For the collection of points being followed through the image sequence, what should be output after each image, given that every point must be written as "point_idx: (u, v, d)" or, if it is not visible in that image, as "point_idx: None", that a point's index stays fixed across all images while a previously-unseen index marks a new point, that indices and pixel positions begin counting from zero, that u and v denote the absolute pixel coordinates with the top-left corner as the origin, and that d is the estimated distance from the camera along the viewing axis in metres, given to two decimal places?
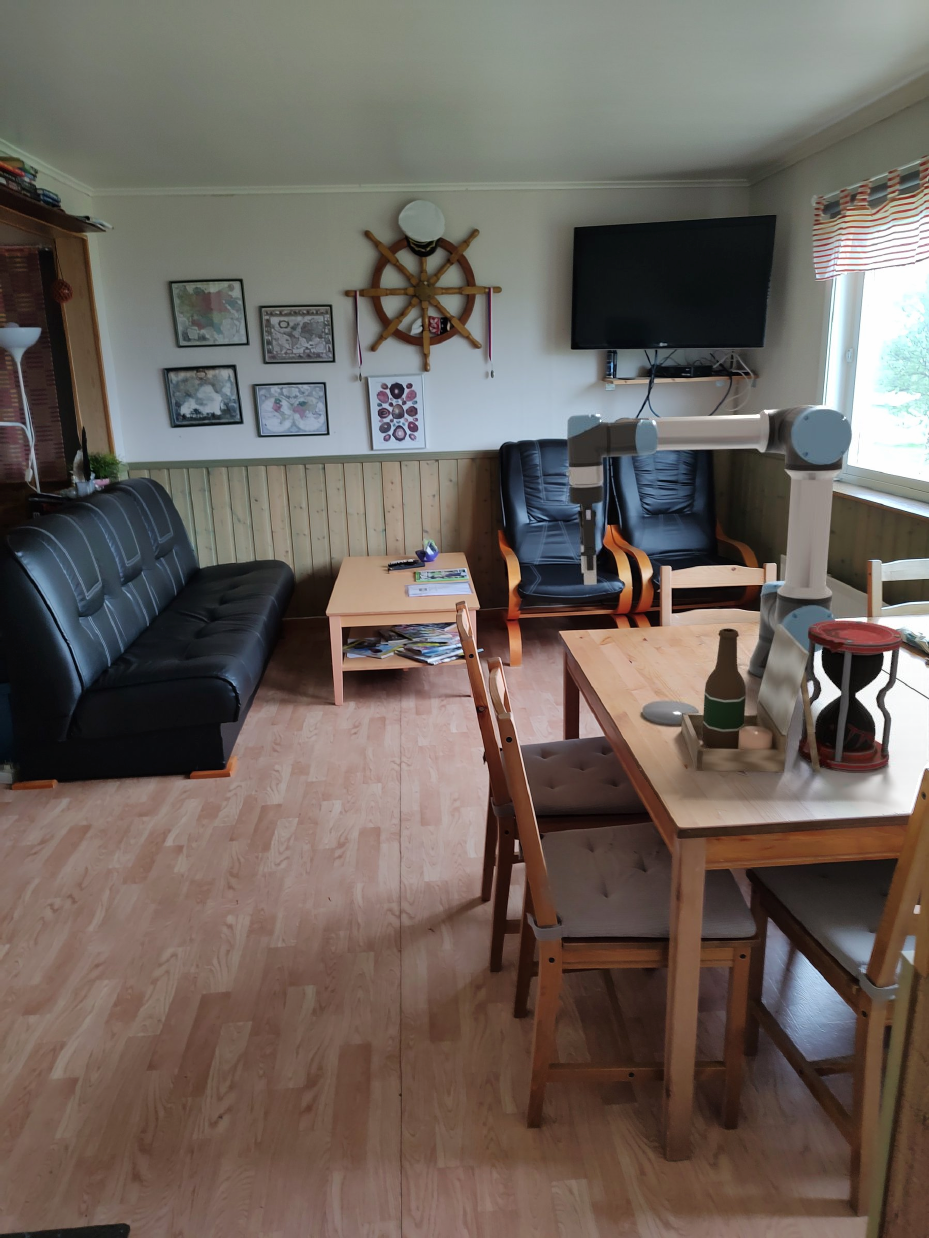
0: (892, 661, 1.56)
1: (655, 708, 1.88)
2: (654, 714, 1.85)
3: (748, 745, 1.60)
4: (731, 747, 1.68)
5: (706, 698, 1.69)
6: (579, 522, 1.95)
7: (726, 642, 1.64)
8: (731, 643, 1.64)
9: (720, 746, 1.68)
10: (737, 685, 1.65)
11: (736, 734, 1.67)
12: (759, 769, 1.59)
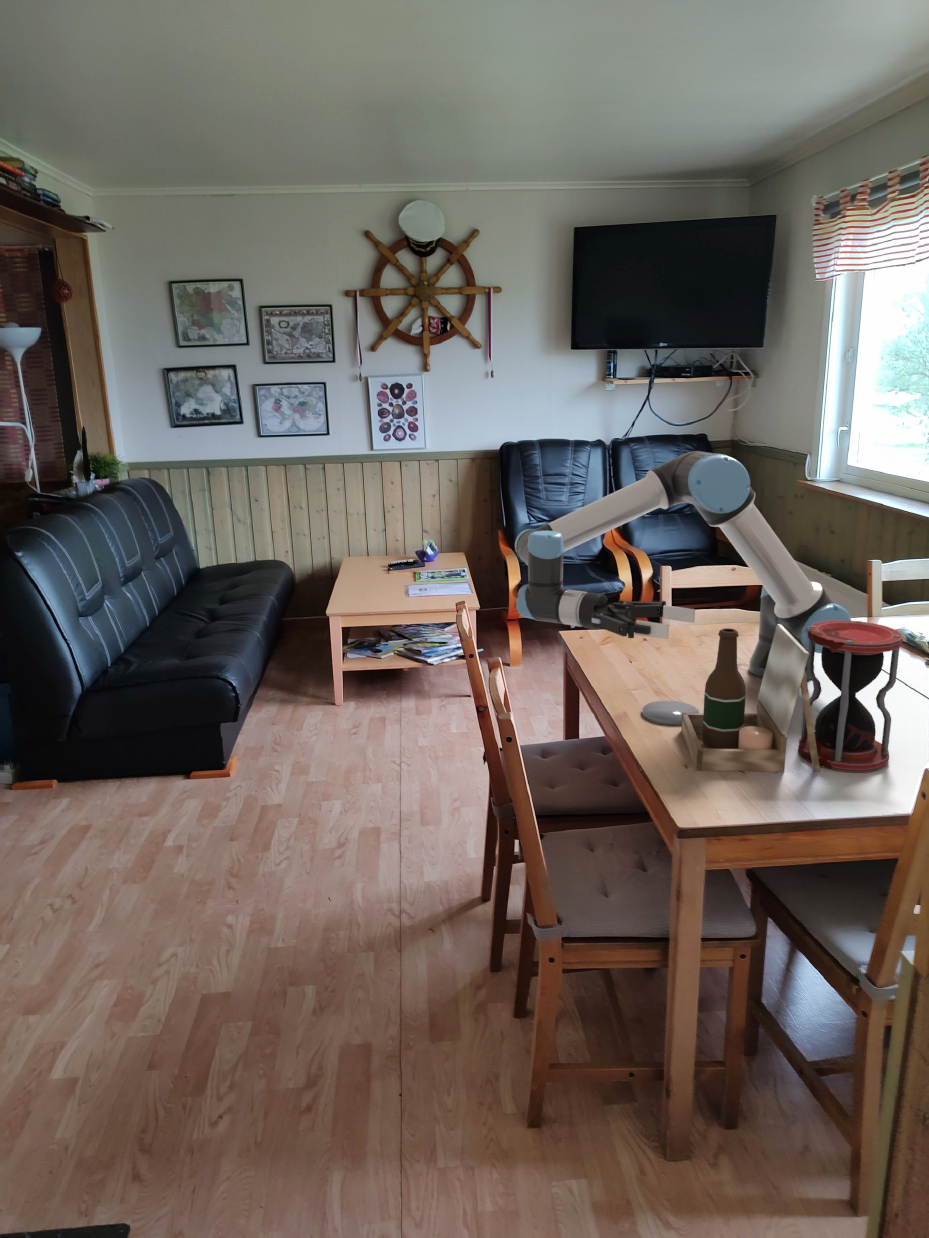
0: (892, 661, 1.56)
1: (655, 708, 1.88)
2: (654, 714, 1.85)
3: (748, 745, 1.60)
4: (731, 747, 1.68)
5: (706, 698, 1.69)
6: None
7: (726, 642, 1.64)
8: (731, 643, 1.64)
9: (720, 746, 1.68)
10: (737, 685, 1.65)
11: (736, 734, 1.67)
12: (759, 769, 1.59)
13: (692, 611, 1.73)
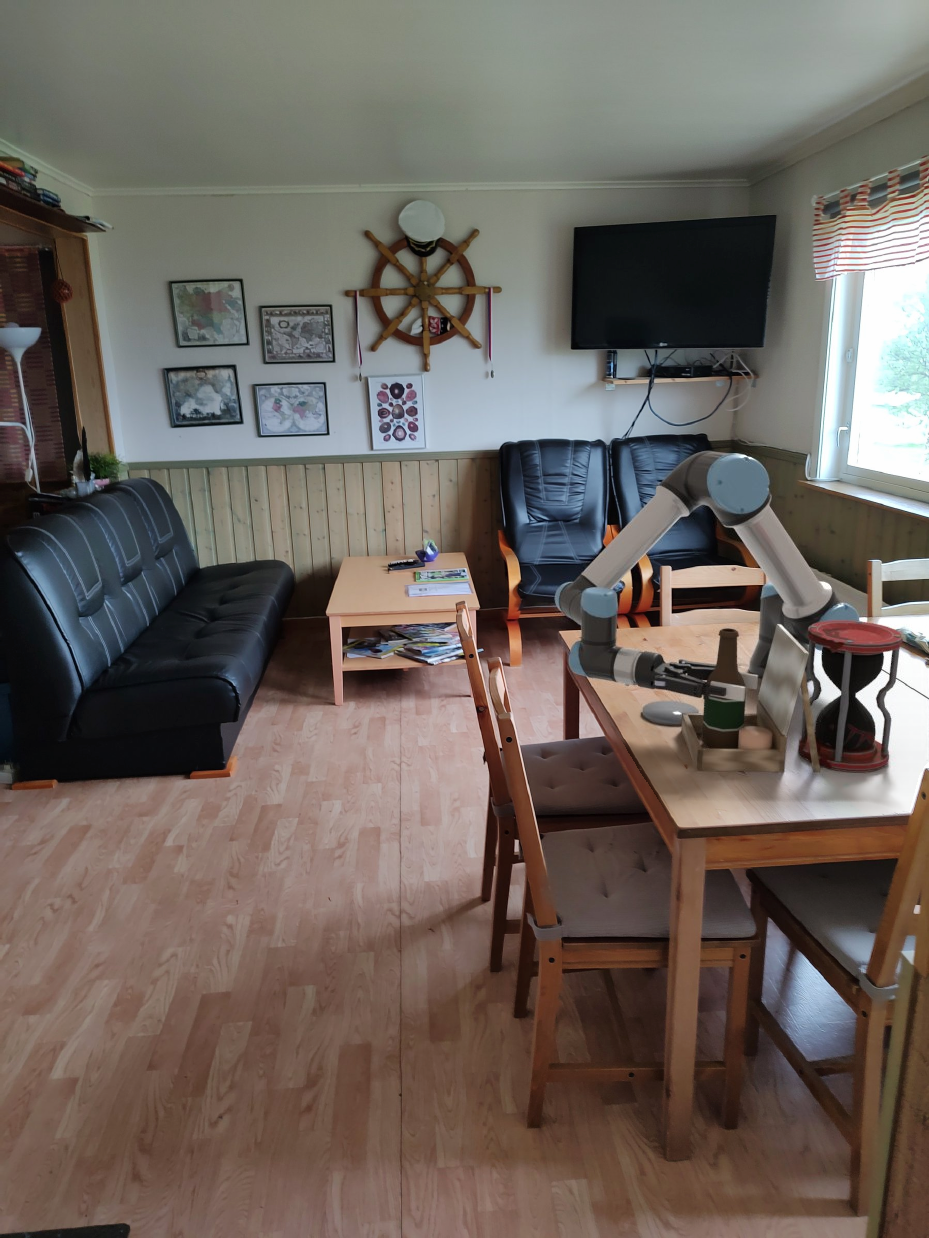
0: (892, 661, 1.56)
1: (655, 708, 1.88)
2: (654, 714, 1.85)
3: (748, 745, 1.60)
4: (731, 747, 1.68)
5: None
6: None
7: (726, 642, 1.64)
8: (731, 643, 1.64)
9: (720, 746, 1.68)
10: (737, 685, 1.65)
11: (736, 734, 1.67)
12: (759, 769, 1.59)
13: (755, 677, 1.68)
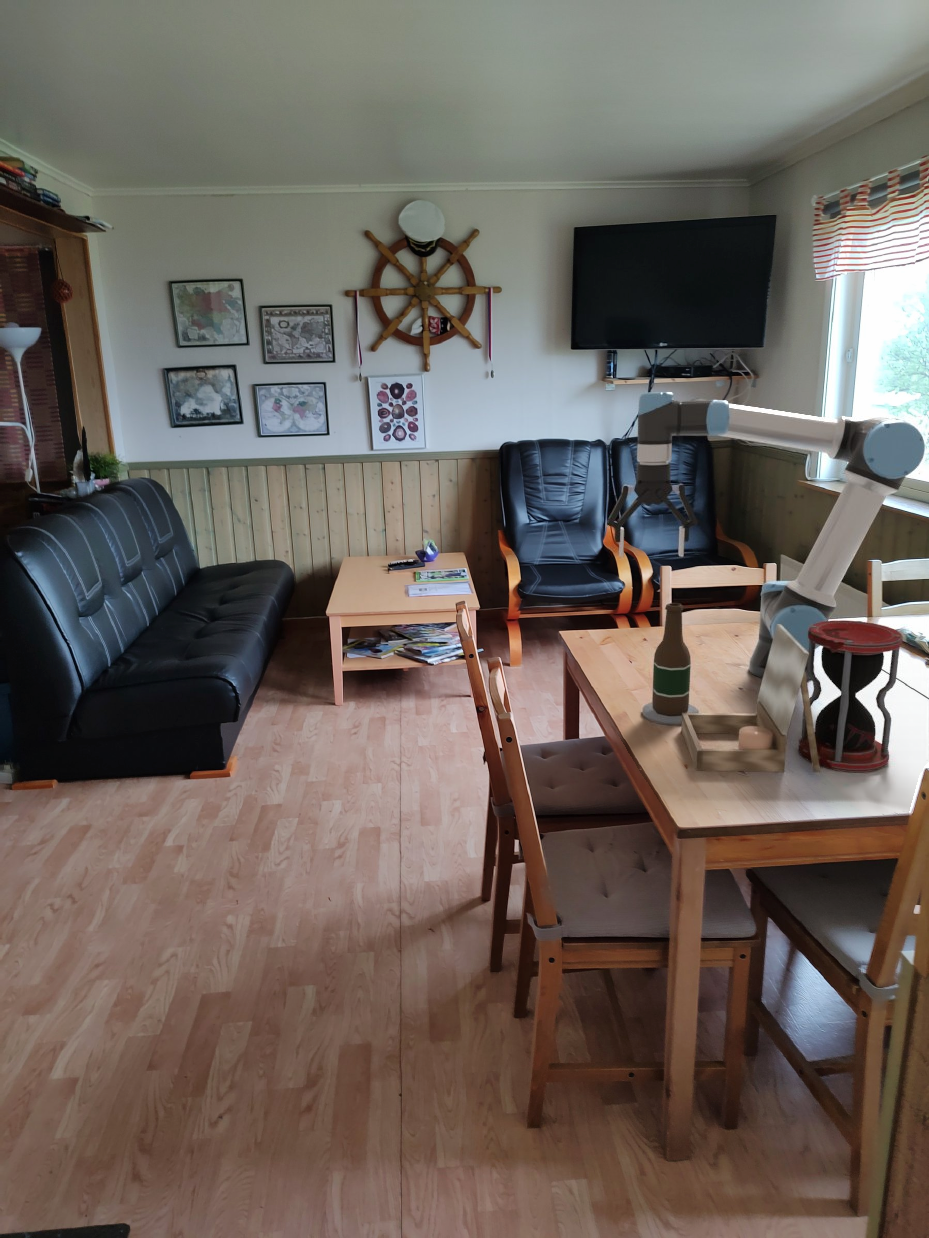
0: (892, 661, 1.56)
1: None
2: (654, 714, 1.85)
3: (748, 745, 1.60)
4: (677, 712, 1.84)
5: (655, 667, 1.84)
6: None
7: (672, 615, 1.80)
8: (676, 616, 1.80)
9: (667, 711, 1.84)
10: (682, 654, 1.81)
11: (682, 700, 1.83)
12: (759, 769, 1.59)
13: (679, 555, 1.96)
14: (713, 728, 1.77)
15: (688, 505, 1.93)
